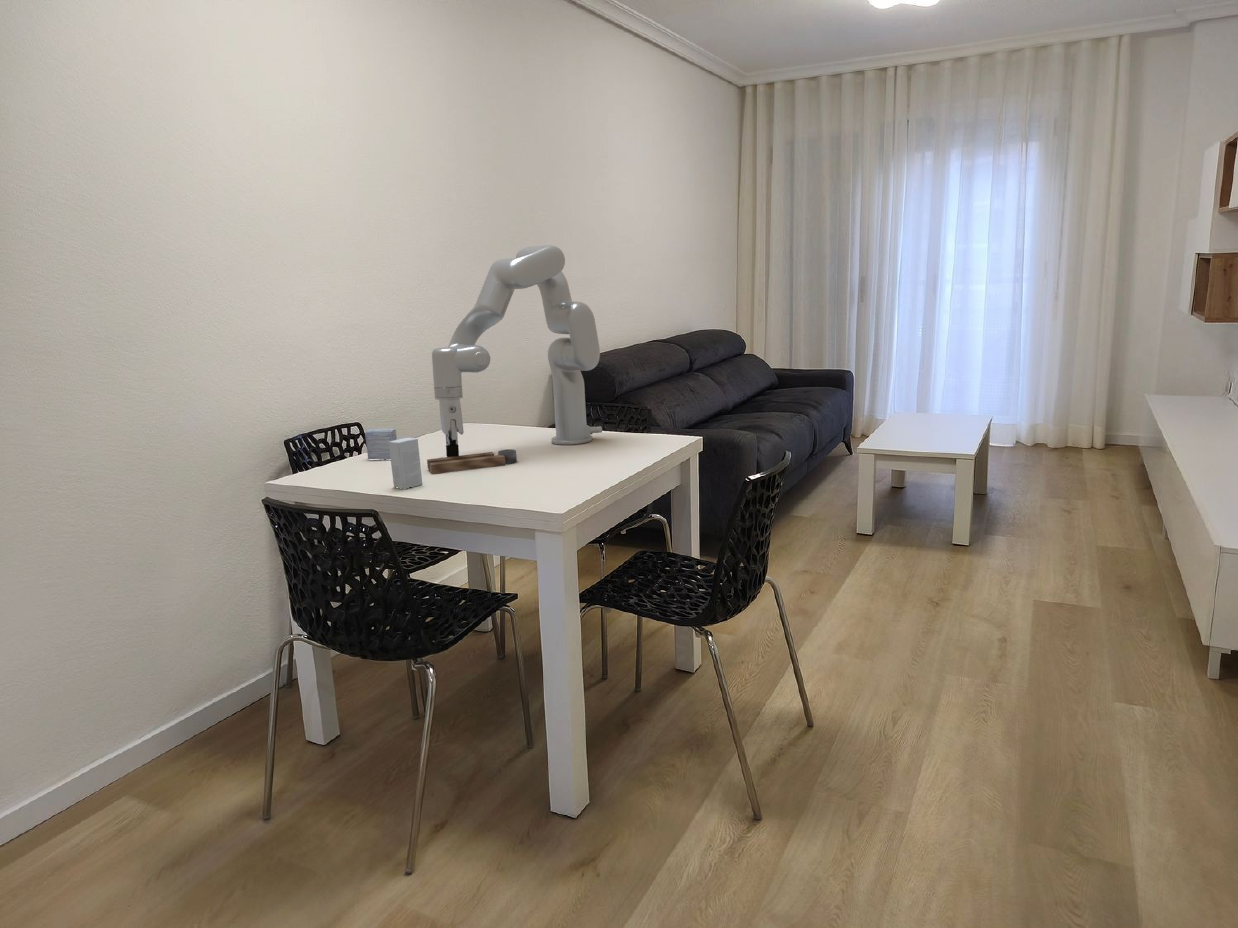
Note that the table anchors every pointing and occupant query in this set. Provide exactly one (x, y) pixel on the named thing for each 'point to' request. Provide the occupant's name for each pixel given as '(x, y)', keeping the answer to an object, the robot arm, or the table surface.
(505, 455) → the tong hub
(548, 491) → the table surface
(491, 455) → the bar
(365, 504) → the table surface
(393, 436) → the medicine box
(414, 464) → the skincare box
